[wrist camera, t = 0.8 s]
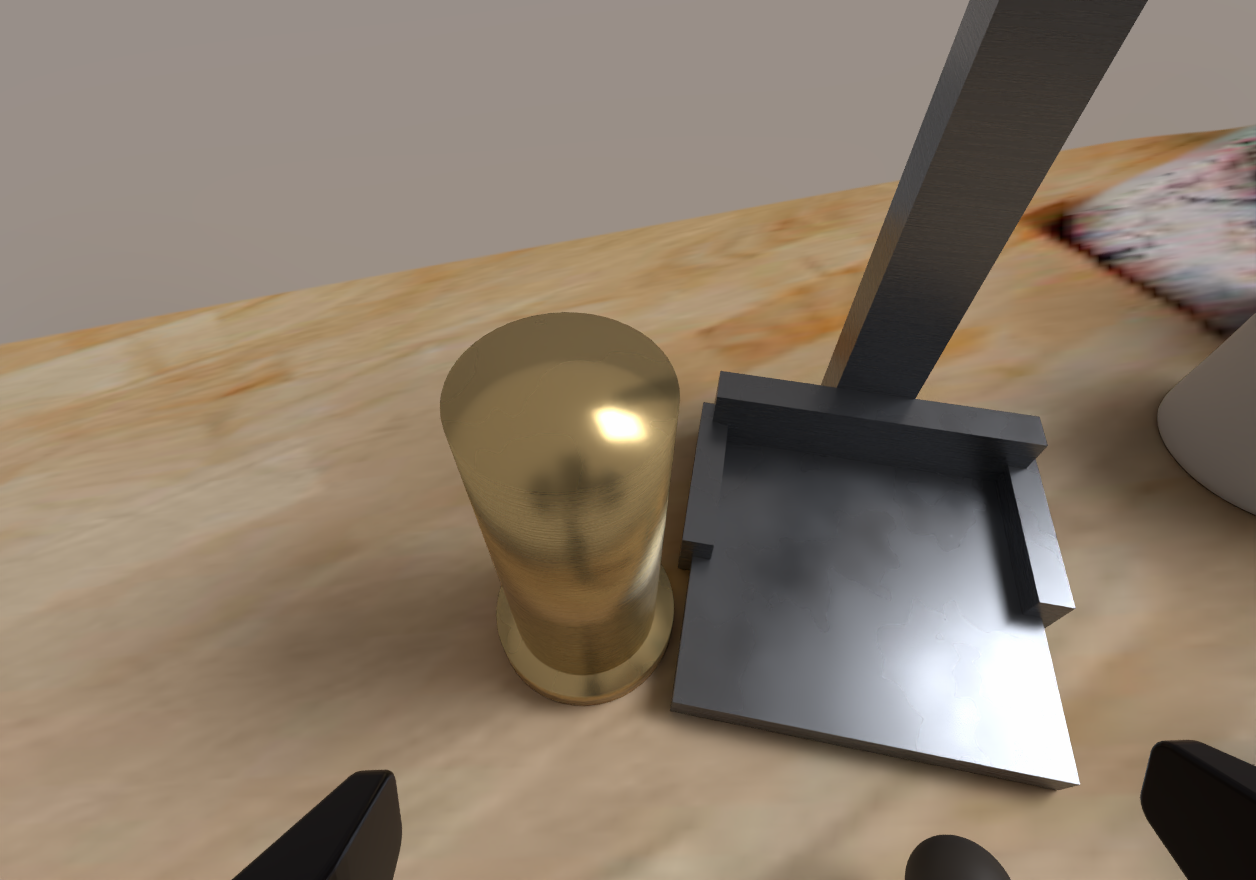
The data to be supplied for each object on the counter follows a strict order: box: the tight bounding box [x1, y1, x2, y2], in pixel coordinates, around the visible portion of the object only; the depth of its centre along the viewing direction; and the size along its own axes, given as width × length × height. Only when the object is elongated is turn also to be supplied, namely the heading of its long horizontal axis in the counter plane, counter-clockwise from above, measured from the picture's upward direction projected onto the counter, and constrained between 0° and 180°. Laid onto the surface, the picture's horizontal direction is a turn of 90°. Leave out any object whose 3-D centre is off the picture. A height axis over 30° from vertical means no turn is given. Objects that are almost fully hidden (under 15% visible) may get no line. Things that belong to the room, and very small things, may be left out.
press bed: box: [670, 0, 1148, 790], centre depth 17 cm, size 16×14×22 cm
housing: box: [440, 312, 680, 706], centre depth 18 cm, size 7×7×13 cm
